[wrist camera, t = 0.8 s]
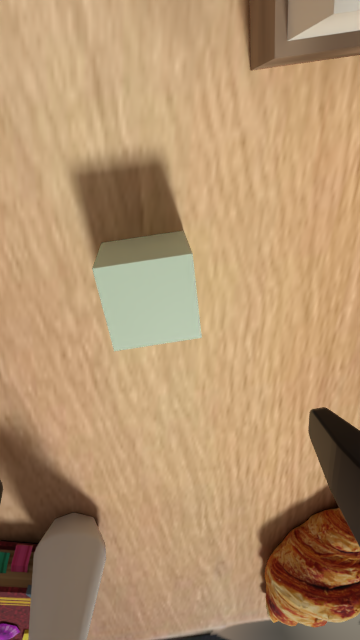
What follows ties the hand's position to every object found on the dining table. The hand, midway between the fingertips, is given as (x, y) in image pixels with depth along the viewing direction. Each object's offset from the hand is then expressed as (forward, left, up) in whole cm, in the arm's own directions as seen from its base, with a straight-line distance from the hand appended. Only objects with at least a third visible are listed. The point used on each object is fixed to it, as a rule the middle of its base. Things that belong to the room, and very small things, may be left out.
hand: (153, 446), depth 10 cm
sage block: (0, 0, -12) cm, 12 cm away
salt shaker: (+10, +22, -12) cm, 27 cm away
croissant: (-11, +33, -12) cm, 37 cm away
